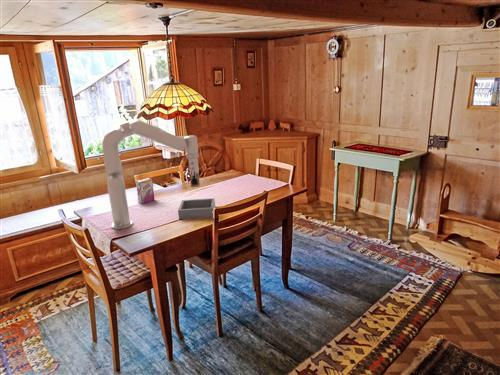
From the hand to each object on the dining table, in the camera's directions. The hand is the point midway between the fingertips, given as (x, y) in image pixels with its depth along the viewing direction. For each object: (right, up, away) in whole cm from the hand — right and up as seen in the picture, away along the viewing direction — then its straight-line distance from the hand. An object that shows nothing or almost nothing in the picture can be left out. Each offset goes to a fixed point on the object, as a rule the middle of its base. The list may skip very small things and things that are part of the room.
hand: (195, 183), depth 231 cm
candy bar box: (-41, -13, +34) cm, 55 cm away
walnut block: (0, -2, +1) cm, 2 cm away
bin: (+1, -19, +6) cm, 20 cm away
